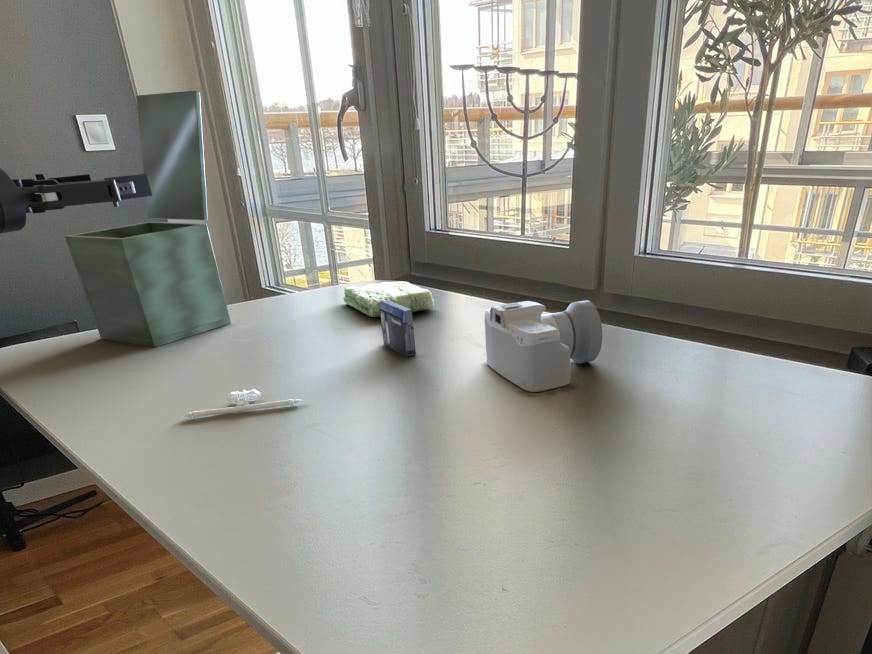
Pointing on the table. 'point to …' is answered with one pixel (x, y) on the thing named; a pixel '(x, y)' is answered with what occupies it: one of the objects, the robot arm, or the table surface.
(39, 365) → the table surface
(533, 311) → the digital camera
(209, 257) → the green open box
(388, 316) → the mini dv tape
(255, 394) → the picture light
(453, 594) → the table surface
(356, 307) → the washcloth
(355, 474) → the table surface
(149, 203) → the lid
